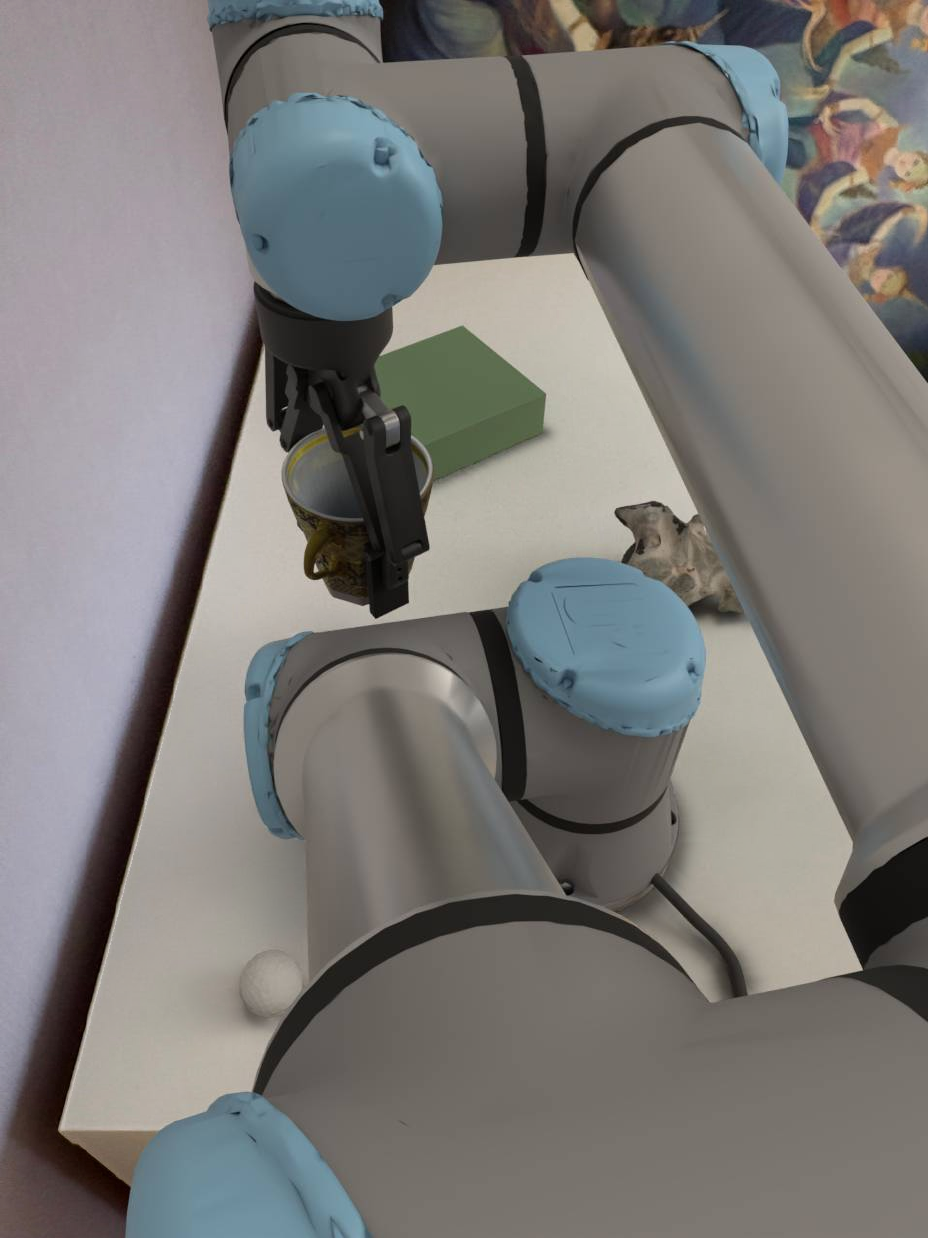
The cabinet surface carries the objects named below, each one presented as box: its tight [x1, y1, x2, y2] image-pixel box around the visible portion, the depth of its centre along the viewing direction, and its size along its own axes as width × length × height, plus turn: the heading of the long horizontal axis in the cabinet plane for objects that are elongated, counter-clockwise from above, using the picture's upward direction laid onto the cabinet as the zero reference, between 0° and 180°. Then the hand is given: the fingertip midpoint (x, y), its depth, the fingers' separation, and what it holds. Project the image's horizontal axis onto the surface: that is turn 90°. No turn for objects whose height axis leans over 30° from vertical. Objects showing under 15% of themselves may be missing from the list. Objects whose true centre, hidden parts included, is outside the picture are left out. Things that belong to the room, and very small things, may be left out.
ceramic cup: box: [280, 424, 434, 607], centre depth 66 cm, size 13×10×10 cm
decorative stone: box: [613, 500, 745, 614], centre depth 84 cm, size 16×9×10 cm
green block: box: [374, 325, 547, 482], centre depth 101 cm, size 15×15×5 cm
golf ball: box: [238, 949, 304, 1018], centre depth 61 cm, size 4×4×4 cm
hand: (351, 563), depth 69 cm, fingers closed on ceramic cup, 10 cm apart
